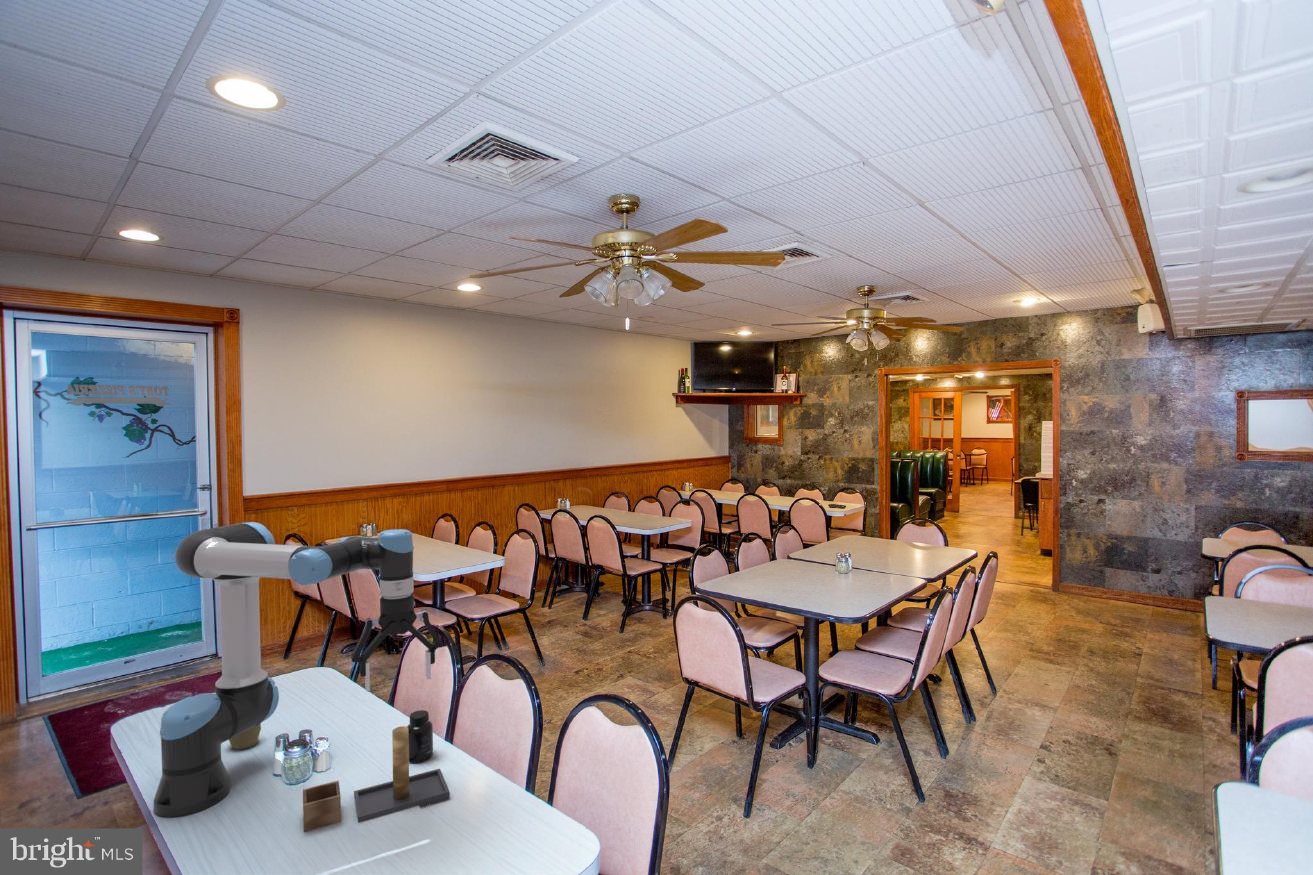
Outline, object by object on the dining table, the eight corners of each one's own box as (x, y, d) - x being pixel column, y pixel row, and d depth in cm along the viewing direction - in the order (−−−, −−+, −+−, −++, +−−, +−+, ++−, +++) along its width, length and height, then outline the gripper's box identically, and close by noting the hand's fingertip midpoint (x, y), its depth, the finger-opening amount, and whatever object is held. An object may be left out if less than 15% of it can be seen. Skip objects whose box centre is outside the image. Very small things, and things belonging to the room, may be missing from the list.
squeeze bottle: (268, 738, 186) (266, 676, 185) (247, 752, 177) (245, 688, 177) (242, 737, 186) (240, 675, 186) (220, 751, 178) (218, 687, 178)
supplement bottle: (400, 760, 172) (399, 716, 172) (420, 749, 178) (419, 706, 178) (419, 766, 169) (418, 721, 169) (438, 754, 175) (437, 711, 175)
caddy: (303, 835, 141) (303, 805, 141) (303, 817, 148) (302, 789, 147) (341, 824, 145) (340, 795, 145) (339, 807, 151) (338, 780, 151)
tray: (358, 825, 144) (357, 817, 144) (354, 798, 155) (353, 791, 155) (449, 798, 154) (449, 791, 154) (440, 775, 165) (439, 768, 164)
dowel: (394, 801, 152) (393, 734, 151) (392, 793, 155) (391, 728, 155) (410, 797, 154) (409, 731, 153) (408, 789, 157) (407, 725, 156)
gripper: (339, 606, 144) (341, 700, 145) (453, 591, 156) (455, 677, 157) (338, 598, 151) (339, 688, 151) (447, 584, 163) (448, 667, 163)
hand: (398, 683), depth 154 cm, fingers open, 13 cm apart
